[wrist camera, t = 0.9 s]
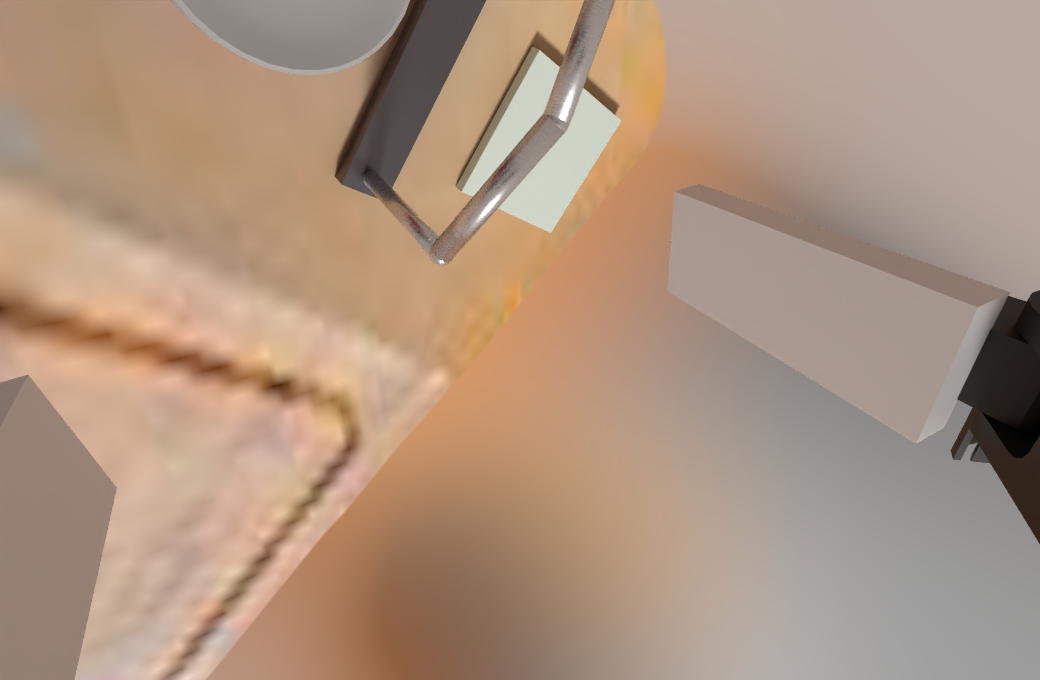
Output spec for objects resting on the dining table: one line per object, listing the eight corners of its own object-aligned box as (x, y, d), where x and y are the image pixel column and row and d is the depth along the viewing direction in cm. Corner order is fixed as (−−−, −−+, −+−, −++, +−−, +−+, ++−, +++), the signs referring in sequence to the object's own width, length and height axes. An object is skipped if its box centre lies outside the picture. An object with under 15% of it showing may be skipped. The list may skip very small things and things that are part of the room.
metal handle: (334, 175, 31) (434, 296, 24) (486, -154, 26) (682, -136, 18) (377, 192, 34) (481, 308, 26) (525, -107, 28) (715, -74, 20)
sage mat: (455, 186, 36) (461, 191, 36) (532, 46, 33) (539, 49, 33) (545, 228, 44) (550, 232, 43) (614, 117, 41) (621, 120, 40)
